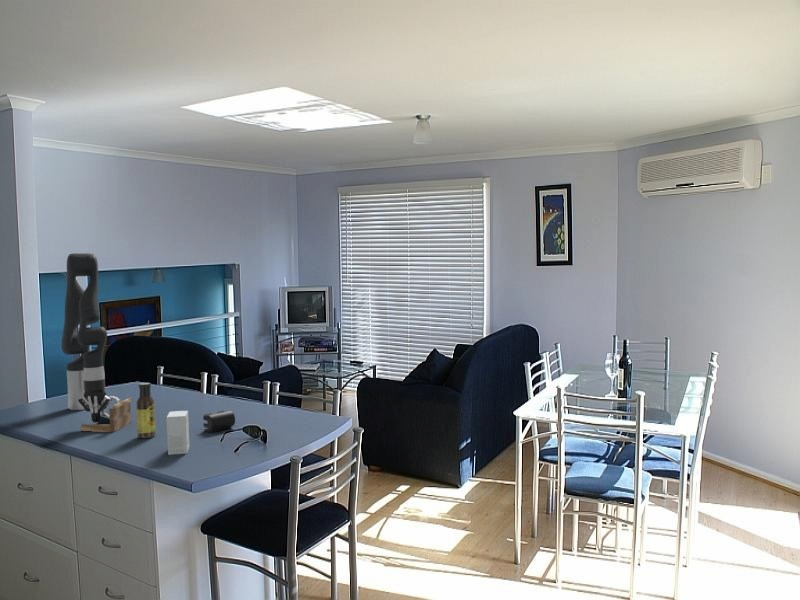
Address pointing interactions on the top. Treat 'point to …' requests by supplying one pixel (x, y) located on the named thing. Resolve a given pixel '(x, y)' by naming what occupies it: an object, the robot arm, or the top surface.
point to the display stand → (113, 418)
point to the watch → (106, 417)
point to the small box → (177, 432)
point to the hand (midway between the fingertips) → (96, 421)
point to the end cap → (219, 421)
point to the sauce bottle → (145, 412)
